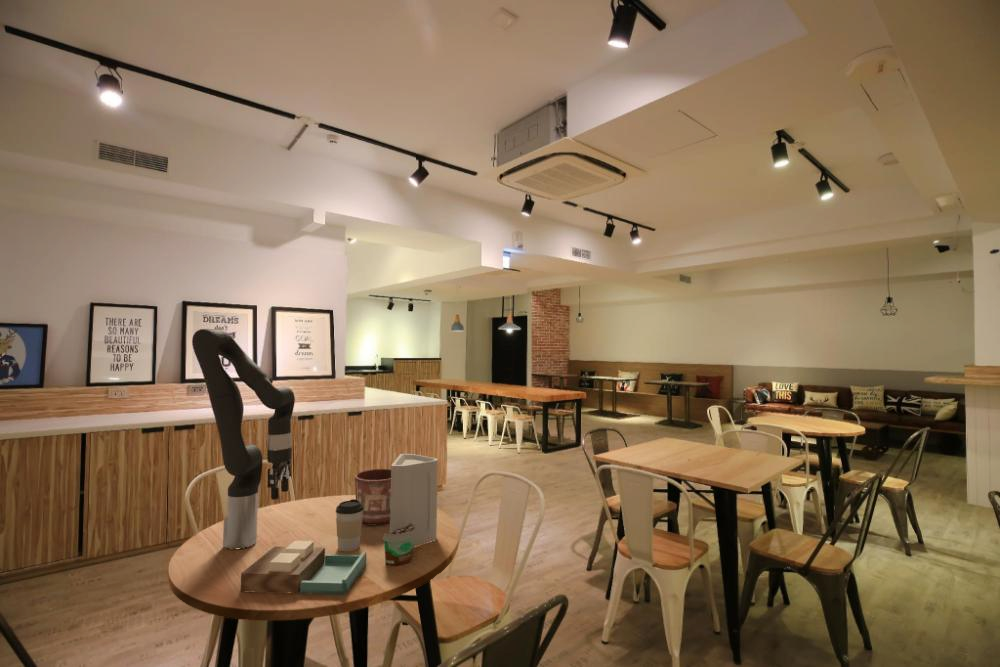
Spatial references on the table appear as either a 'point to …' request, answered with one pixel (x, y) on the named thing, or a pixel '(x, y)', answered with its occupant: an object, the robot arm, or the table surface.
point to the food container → (399, 545)
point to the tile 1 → (284, 562)
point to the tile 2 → (300, 548)
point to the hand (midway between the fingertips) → (280, 495)
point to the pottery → (374, 495)
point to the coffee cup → (349, 524)
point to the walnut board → (271, 581)
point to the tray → (335, 574)
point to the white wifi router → (414, 496)
